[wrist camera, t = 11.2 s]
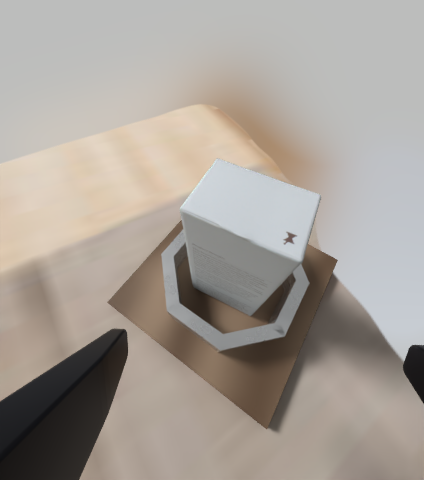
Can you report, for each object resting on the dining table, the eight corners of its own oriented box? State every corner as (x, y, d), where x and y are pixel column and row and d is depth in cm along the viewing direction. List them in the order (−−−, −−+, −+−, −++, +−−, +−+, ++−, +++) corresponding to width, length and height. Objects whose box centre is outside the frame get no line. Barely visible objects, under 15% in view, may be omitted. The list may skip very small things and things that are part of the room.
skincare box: (266, 276, 21) (327, 194, 11) (250, 317, 19) (305, 266, 9) (210, 250, 22) (216, 154, 12) (190, 287, 21) (175, 210, 10)
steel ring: (309, 265, 22) (324, 252, 19) (254, 379, 17) (263, 383, 14) (212, 210, 25) (213, 193, 22) (142, 296, 20) (132, 286, 17)
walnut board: (332, 263, 23) (337, 260, 22) (263, 425, 17) (266, 429, 16) (207, 196, 27) (207, 190, 26) (111, 304, 20) (107, 302, 20)
